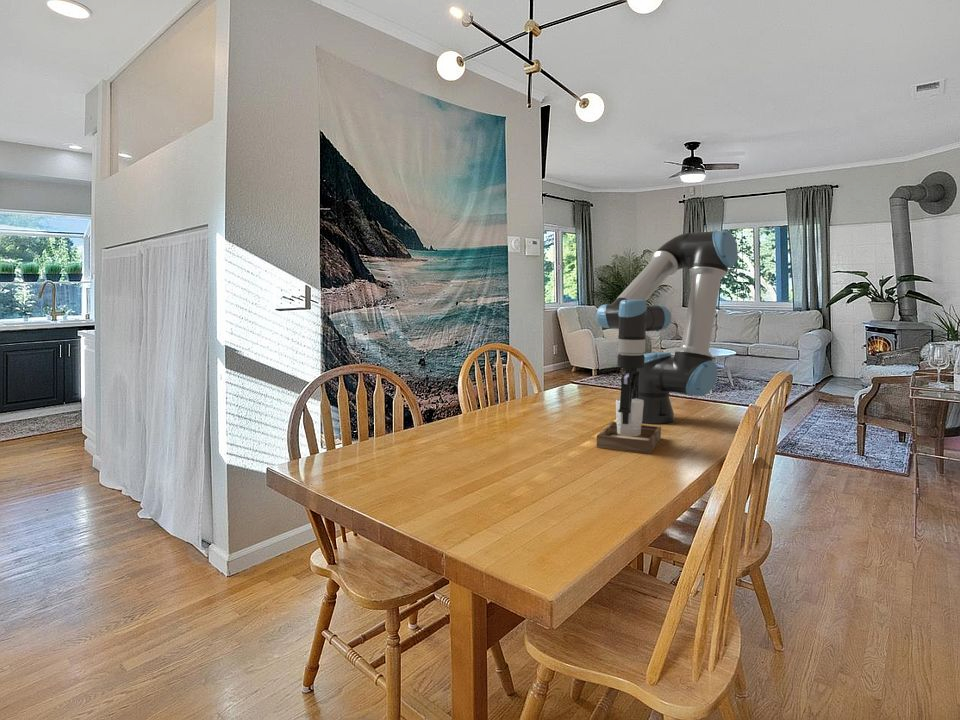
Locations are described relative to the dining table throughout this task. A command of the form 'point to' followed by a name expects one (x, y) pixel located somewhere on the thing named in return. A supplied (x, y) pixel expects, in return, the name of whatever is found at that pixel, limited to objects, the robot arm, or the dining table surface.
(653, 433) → the walnut caddy
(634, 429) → the white cup
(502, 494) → the dining table surface
